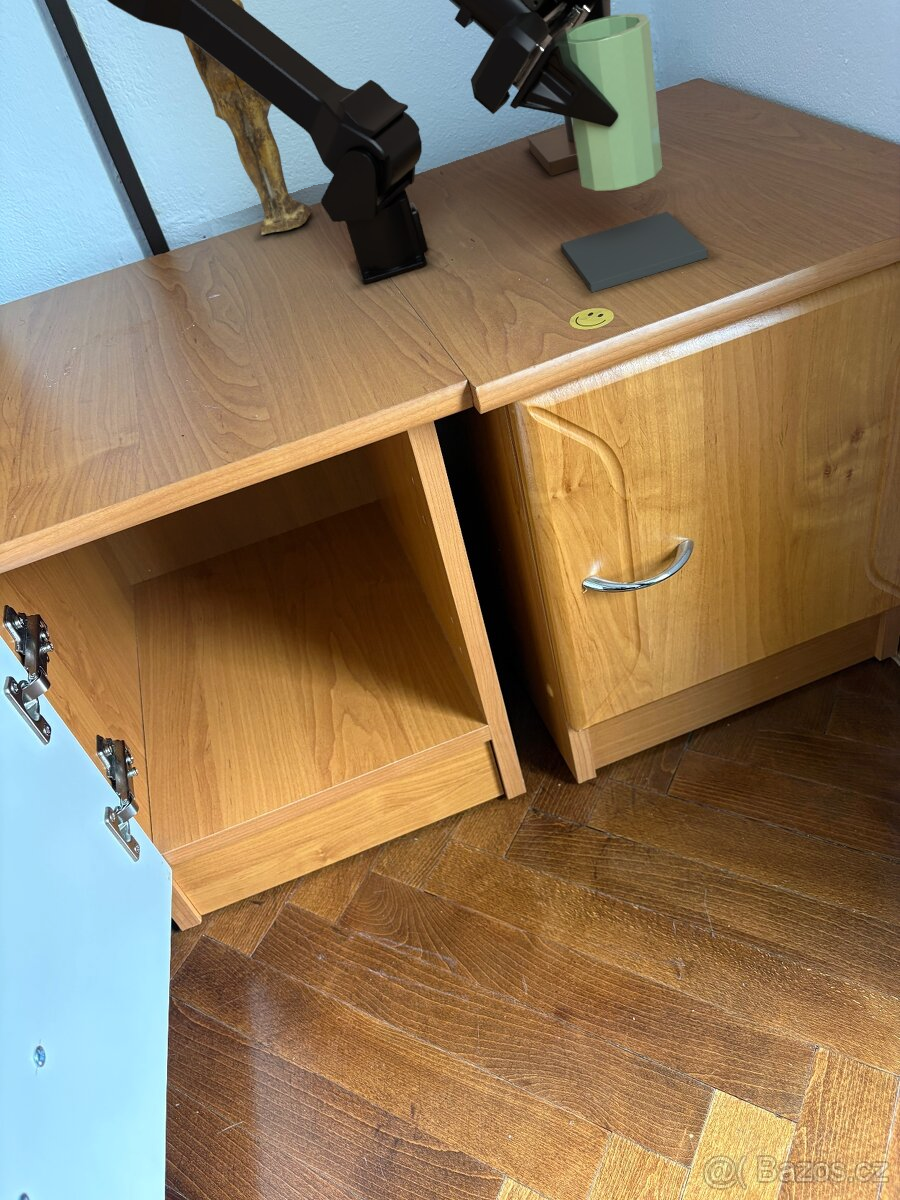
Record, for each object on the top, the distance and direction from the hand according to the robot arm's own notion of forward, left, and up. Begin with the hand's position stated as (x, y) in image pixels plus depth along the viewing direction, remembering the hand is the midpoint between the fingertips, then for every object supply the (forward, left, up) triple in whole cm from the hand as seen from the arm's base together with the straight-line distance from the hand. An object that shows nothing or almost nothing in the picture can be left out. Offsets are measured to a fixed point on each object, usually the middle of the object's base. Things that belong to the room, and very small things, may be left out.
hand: (629, 105), depth 79 cm
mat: (-1, +1, -12) cm, 12 cm away
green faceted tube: (-1, +1, -5) cm, 5 cm away
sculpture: (-31, +35, -12) cm, 48 cm away
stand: (+3, +31, -12) cm, 33 cm away
